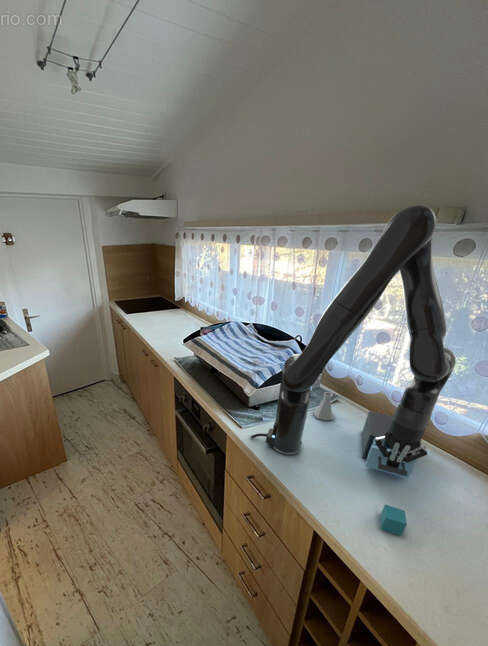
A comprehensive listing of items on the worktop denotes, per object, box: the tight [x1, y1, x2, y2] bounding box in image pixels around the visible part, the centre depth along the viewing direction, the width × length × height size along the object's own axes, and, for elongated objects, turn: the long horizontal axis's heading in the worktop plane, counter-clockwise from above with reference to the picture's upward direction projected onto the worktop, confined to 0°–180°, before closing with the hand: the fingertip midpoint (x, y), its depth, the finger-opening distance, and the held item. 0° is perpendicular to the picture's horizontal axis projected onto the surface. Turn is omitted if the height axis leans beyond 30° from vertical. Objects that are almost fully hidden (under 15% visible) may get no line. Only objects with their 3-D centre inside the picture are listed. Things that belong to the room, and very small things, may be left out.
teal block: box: [379, 504, 408, 537], centre depth 77 cm, size 4×4×4 cm
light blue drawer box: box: [364, 437, 418, 479], centre depth 94 cm, size 18×11×8 cm, turn 154°
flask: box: [313, 391, 334, 421], centre depth 119 cm, size 7×7×10 cm
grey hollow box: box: [361, 410, 415, 460], centre depth 101 cm, size 15×13×10 cm
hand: (390, 468), depth 89 cm, fingers closed
